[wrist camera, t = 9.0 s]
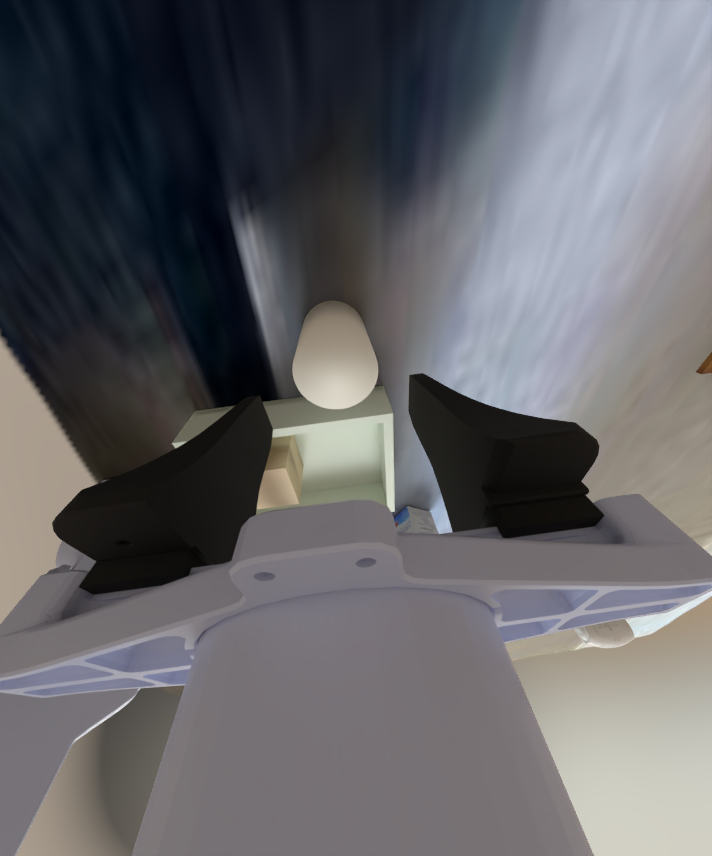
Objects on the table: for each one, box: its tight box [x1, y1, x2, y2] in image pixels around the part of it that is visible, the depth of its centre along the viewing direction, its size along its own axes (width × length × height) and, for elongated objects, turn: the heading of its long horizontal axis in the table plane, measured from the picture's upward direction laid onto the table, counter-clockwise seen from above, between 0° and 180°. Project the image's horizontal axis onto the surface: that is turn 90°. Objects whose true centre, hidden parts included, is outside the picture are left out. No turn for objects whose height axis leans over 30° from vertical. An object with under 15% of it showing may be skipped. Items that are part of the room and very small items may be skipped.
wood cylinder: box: [292, 300, 378, 409], centre depth 18 cm, size 5×5×7 cm
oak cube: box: [257, 435, 304, 509], centre depth 24 cm, size 5×5×5 cm
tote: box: [172, 386, 395, 515], centre depth 26 cm, size 18×14×4 cm
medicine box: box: [394, 506, 438, 534], centre depth 35 cm, size 8×4×9 cm, turn 151°
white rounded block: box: [574, 619, 634, 648], centre depth 56 cm, size 10×4×12 cm, turn 92°
